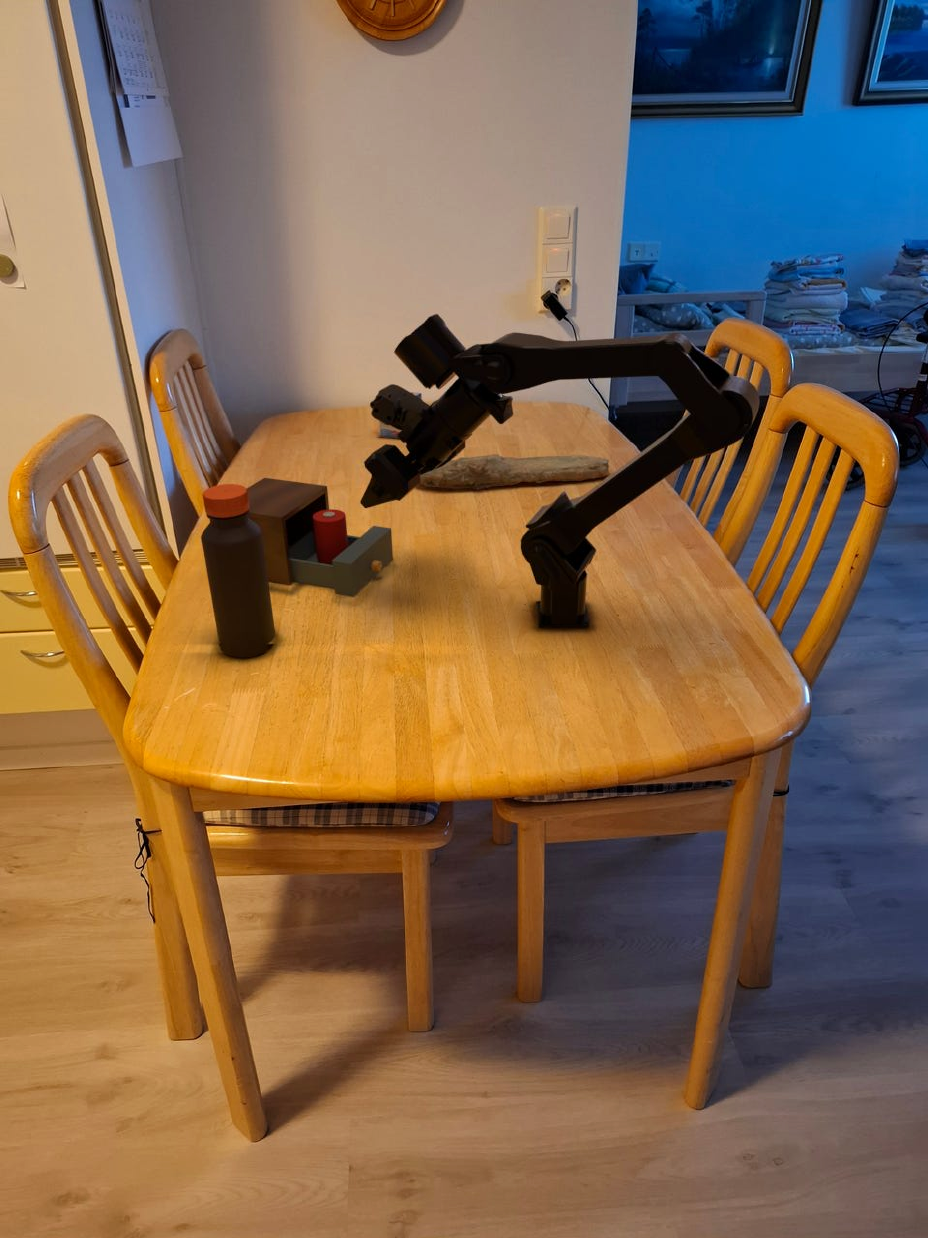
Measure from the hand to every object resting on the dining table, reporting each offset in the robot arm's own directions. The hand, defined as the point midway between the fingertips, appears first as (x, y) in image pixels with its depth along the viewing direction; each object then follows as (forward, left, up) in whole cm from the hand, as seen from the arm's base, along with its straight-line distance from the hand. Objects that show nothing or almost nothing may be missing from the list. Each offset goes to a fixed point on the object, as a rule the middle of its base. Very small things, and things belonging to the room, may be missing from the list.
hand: (379, 492), depth 117 cm
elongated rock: (+41, -19, -14) cm, 47 cm away
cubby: (+5, +15, -13) cm, 21 cm away
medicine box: (+67, +3, -14) cm, 68 cm away
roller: (+2, +7, -12) cm, 14 cm away
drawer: (+2, +7, -13) cm, 15 cm away
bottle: (-16, +15, -14) cm, 26 cm away
